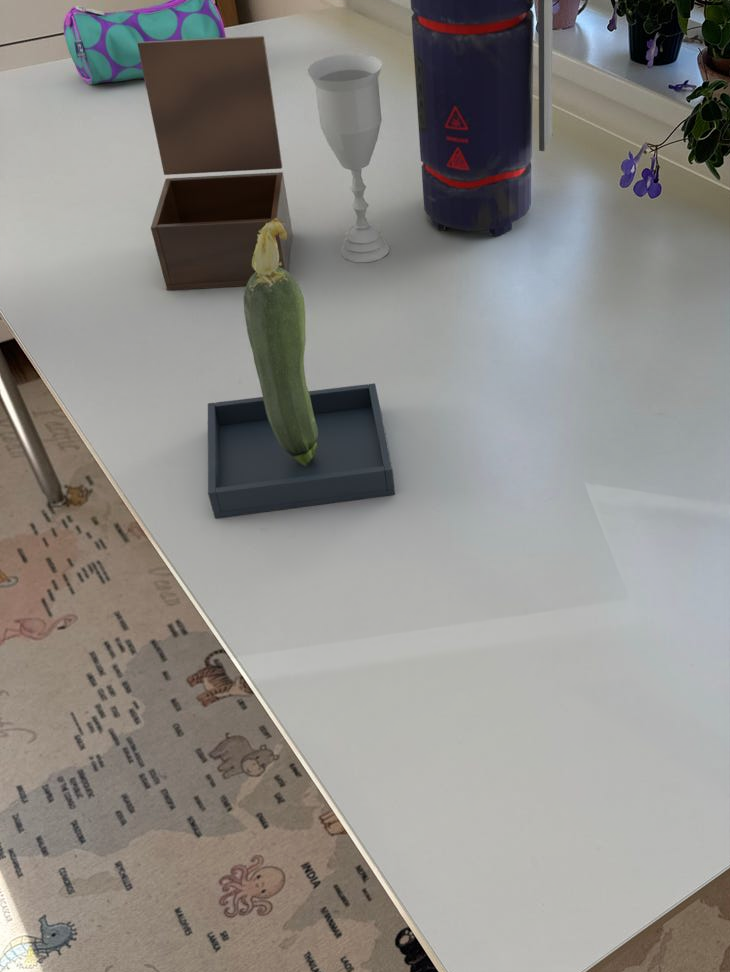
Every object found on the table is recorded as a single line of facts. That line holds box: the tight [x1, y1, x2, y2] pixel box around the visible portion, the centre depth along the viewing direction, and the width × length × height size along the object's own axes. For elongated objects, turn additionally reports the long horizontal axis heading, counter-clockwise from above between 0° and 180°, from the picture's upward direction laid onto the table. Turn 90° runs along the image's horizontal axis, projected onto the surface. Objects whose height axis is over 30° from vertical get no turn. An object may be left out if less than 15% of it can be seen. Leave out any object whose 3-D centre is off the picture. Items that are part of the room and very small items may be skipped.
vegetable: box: [243, 218, 318, 466], centre depth 78 cm, size 4×4×20 cm
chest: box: [150, 171, 293, 291], centre depth 107 cm, size 11×12×7 cm
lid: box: [137, 35, 283, 176], centre depth 105 cm, size 12×12×1 cm
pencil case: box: [63, 0, 227, 85], centre depth 145 cm, size 21×9×10 cm, turn 116°
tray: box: [207, 383, 396, 519], centre depth 85 cm, size 14×12×2 cm
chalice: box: [307, 53, 390, 263], centre depth 104 cm, size 7×7×18 cm
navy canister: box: [410, 0, 554, 237], centre depth 104 cm, size 14×12×30 cm
